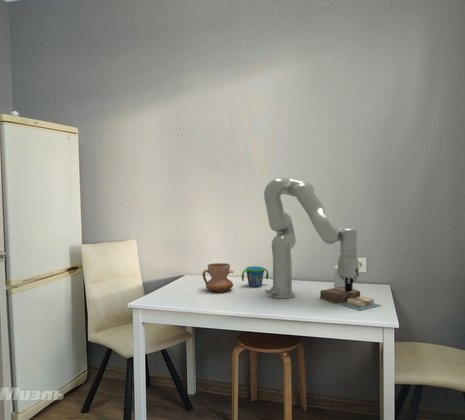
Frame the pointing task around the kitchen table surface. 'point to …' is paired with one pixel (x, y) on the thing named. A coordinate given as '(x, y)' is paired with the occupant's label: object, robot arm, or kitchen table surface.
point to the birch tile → (360, 301)
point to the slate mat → (360, 307)
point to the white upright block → (338, 279)
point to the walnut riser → (338, 295)
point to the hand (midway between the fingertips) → (348, 291)
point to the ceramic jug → (218, 277)
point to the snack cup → (254, 275)
